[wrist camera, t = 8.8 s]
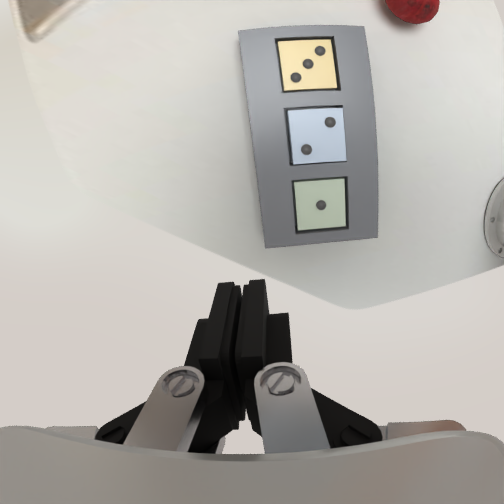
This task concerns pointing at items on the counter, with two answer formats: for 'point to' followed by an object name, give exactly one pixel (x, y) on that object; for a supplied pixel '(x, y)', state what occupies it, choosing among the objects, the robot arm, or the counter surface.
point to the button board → (277, 134)
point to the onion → (414, 10)
